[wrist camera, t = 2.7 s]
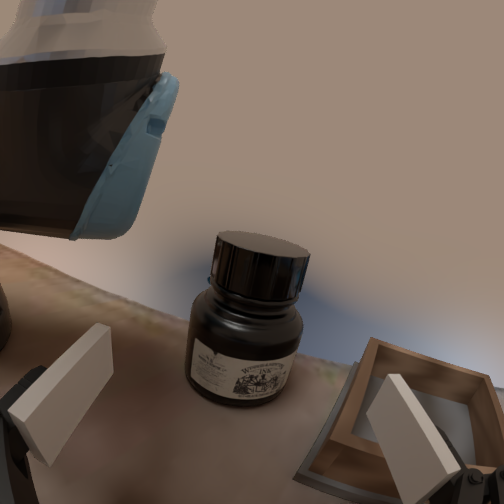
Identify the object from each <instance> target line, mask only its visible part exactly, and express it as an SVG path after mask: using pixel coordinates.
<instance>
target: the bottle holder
mask: <svg viewBox="0 0 504 504" xmlns="http://www.w3.org/2000/svg"><path fill="white" fill-rule="evenodd" d="M388 374H400V375H401V377H402V378H403V379H404V381H405V382H406V384H407V385H408V387H409V388H410V390H411V391H412V392H413V394H414V395H415V397H416V398H417V400H418V401H419V403H420V404H421V406H422V407H423V409H424V410H425V412H426V413H427V415H428V416H429V418H430V420H431V421H432V423H433V424H434V426H438V427H439V428H440V429H442V430H443V431H444V432H445V434H446V435H447V437H448V438H449V441H451V443H452V444H453V447H454V448H455V449H456V451H457V452H458V454H459V456H460V457H461V459H462V460H463V462H464V464H465V465H466V467H467V468H468V469H470V468H476V469H478V470H480V471H481V472H482V473H483V474H489V473H493V472H494V471H495V470H496V469H497V468H498V467H499V466H500V465H504V414H503V411H502V408H501V405H500V403H499V400H498V397H497V395H496V392H495V389H494V387H493V384H492V382H491V379H490V377H489V375H485V374H482V373H479V372H476V371H472V370H469V369H466V368H462V367H459V366H456V365H453V364H450V363H446V362H443V361H440V360H437V359H434V358H431V357H428V356H425V355H422V354H419V353H416V352H412V351H410V350H407V349H404V348H401V347H398V346H395V345H392V344H389V343H387V342H384V341H381V340H378V339H375V338H373V337H370V340H369V342H368V344H367V347H366V349H365V351H364V354H363V356H362V358H361V360H360V362H359V363H358V362H354V364H353V367H352V369H351V371H350V373H349V376H348V378H347V380H346V382H345V385H344V387H343V389H342V391H341V393H340V395H339V397H338V399H337V402H336V404H335V406H334V408H333V410H332V412H331V414H330V416H329V417H328V419H327V421H326V423H325V425H324V427H323V429H322V431H321V432H320V434H319V436H318V438H317V440H316V441H315V443H314V445H313V447H312V448H311V450H310V452H309V453H308V455H307V457H306V458H305V460H304V462H303V463H302V465H301V466H300V468H299V470H298V471H297V473H296V474H295V476H294V477H293V480H296V481H298V482H300V483H303V484H305V485H307V486H310V487H312V488H315V489H318V490H320V491H323V492H326V493H329V494H331V495H334V496H337V497H340V498H343V499H346V500H350V501H353V502H356V503H360V504H403V502H402V500H401V497H400V494H399V492H398V489H397V487H396V484H395V482H394V479H393V477H392V474H391V472H390V469H389V467H388V464H387V462H386V459H385V457H384V454H383V452H382V450H381V447H380V445H379V442H378V440H377V438H376V435H375V433H374V431H373V428H372V426H371V424H370V421H369V419H368V417H367V415H366V412H367V411H368V409H369V407H370V406H371V404H372V402H373V400H374V399H375V397H376V395H377V393H378V392H379V390H380V388H381V386H382V384H383V382H384V380H385V378H386V376H387V375H388ZM429 503H430V501H429V499H428V500H426V501H425V502H424V503H423V504H429ZM488 504H491V501H490V502H489V503H488Z"/></svg>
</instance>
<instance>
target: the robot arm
mask: <svg viewBox="0 0 504 504" xmlns="http://www.w3.org/2000/svg"><path fill="white" fill-rule="evenodd" d="M157 1H158V0H20V3H19V7H18V11H17V15H16V18H15V22H14V24H13V25H12V27H11V28H10V30H9V31H8V32H7V33H6V34H5V35H4V36H3V38H2V39H1V40H0V230H3V231H11V232H19V233H26V234H33V235H42V236H49V237H57V238H64V239H69V240H73V241H75V240H77V239H78V238H81V239H105V240H111V239H115V238H117V237H119V236H122V235H124V234H125V233H126V232H127V231H128V230H129V229H130V228H131V227H132V225H133V223H134V221H135V219H136V217H137V214H138V211H139V208H140V205H141V202H142V199H143V196H144V193H145V190H146V187H147V184H148V181H149V178H150V175H151V172H152V168H153V165H154V162H155V159H156V156H157V153H158V150H159V147H160V143H161V138H162V137H161V136H162V133H163V132H164V130H165V127H166V124H167V120H168V119H169V116H170V114H171V112H172V109H173V105H174V103H175V100H176V97H177V93H178V89H179V81H178V79H177V78H176V77H174V76H171V74H170V73H169V72H163V73H162V74H160V68H161V65H162V62H163V58H164V55H165V52H166V49H167V46H166V44H165V42H164V41H163V40H162V38H161V36H160V35H159V33H158V32H157V30H156V28H155V27H154V25H153V22H152V14H153V11H154V9H155V6H156V4H157ZM10 331H11V318H10V313H9V307H8V302H7V299H6V296H5V293H4V291H3V289H2V286H1V284H0V350H1V349H2V348H3V346H4V345H5V343H6V341H7V340H8V337H9V335H10ZM113 373H114V369H113V357H112V342H111V327H109V326H106V325H103V324H101V323H98V322H97V323H96V324H94V325H93V326H92V327H91V328H90V329H89V330H88V331H87V332H86V333H85V334H84V335H83V336H81V337H80V338H79V339H78V340H77V341H76V342H75V343H74V344H73V345H72V346H71V347H70V348H69V349H68V350H67V351H66V352H64V353H63V354H62V355H61V356H60V357H59V358H58V359H57V360H56V361H55V362H54V363H53V364H52V365H51V366H50V367H49V368H48V369H47V368H45V367H44V366H42V365H41V366H38V367H36V368H34V369H31V370H30V371H29V372H28V373H27V374H26V375H25V376H24V378H22V379H21V380H20V381H19V382H18V384H16V385H14V386H13V387H12V388H11V389H10V390H9V391H8V392H7V393H6V394H5V395H4V396H3V397H2V398H1V399H0V504H39V501H38V498H37V495H36V491H35V488H34V484H33V480H32V476H31V472H30V467H29V462H28V458H27V455H26V453H27V452H28V450H30V451H31V453H32V455H33V456H34V458H36V459H37V460H39V461H41V462H42V463H44V464H45V465H47V466H49V467H51V466H52V464H53V462H54V461H55V459H56V458H57V456H58V454H59V453H60V451H61V450H62V448H63V447H64V445H65V444H66V442H67V440H68V439H69V437H70V436H71V434H72V433H73V431H74V430H75V428H76V427H77V425H78V424H79V422H80V421H81V419H82V418H83V416H84V415H85V413H86V412H87V410H88V409H89V408H90V406H91V405H92V403H93V402H94V400H95V399H96V397H97V396H98V395H99V393H100V392H101V390H102V389H103V387H104V386H105V385H106V383H107V382H108V380H109V379H110V378H111V376H112V375H113ZM366 415H367V417H368V419H369V421H370V424H371V426H372V428H373V431H374V433H375V435H376V438H377V440H378V442H379V445H380V447H381V450H382V452H383V454H384V457H385V459H386V462H387V464H388V467H389V469H390V472H391V474H392V477H393V479H394V482H395V484H396V487H397V489H398V492H399V494H400V497H401V500H402V502H403V504H423V503H424V502H425V501H426V500H428V499H429V501H430V503H429V504H488V503H489V502H490V501H491V504H504V465H500V466H499V467H498V468H497V469H496V470H495V471H494V472H493V473H489V474H483V473H482V472H481V471H480V470H478V469H476V468H470V469H468V468H467V467H466V465H465V464H464V462H463V460H462V459H461V457H460V456H459V454H458V452H457V451H456V449H455V448H454V447H453V444H452V443H451V441H449V438H448V437H447V435H446V434H445V432H444V431H443V430H442V429H440V428H439V427H438V426H434V424H433V423H432V421H431V420H430V418H429V416H428V415H427V413H426V412H425V410H424V409H423V407H422V406H421V404H420V403H419V401H418V400H417V398H416V397H415V395H414V394H413V392H412V391H411V390H410V388H409V387H408V385H407V384H406V382H405V381H404V379H403V378H402V377H401V375H400V374H388V375H387V376H386V378H385V380H384V382H383V384H382V386H381V388H380V390H379V392H378V393H377V395H376V397H375V399H374V400H373V402H372V404H371V406H370V407H369V409H368V411H367V412H366Z"/></svg>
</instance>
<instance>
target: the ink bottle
mask: <svg viewBox="0 0 504 504" xmlns="http://www.w3.org/2000/svg"><path fill="white" fill-rule="evenodd" d="M309 258H310V253H309V252H308V251H307V250H306V249H304V248H302V247H300V246H299V245H296V244H293V243H290V242H288V241H285V240H282V239H278V238H274V237H271V236H266V235H261V234H256V233H249V232H241V231H224V232H219V234H218V235H217V238H216V243H215V249H214V255H213V261H212V266H211V272H210V275H211V276H210V284H211V286H210V287H209V289H207V290H205V291H203V292H201V293H200V294H199V295H198V296H197V297H196V298H195V300H194V302H193V305H192V308H191V314H190V322H189V330H188V339H187V348H186V357H185V371H186V374H187V377H188V379H189V381H190V382H191V384H192V385H193V386H194V387H195V389H196V390H198V391H199V392H200V393H201V394H202V395H204V396H205V397H207V398H209V399H211V400H213V401H216V402H219V403H222V404H227V405H233V406H254V405H259V404H263V403H266V402H269V401H271V400H273V399H274V398H276V397H277V396H278V395H279V394H280V393H281V391H282V390H283V388H284V386H285V383H286V381H287V378H288V375H289V372H290V370H291V367H292V364H293V361H294V358H295V355H296V353H297V349H298V346H299V343H300V340H301V337H302V333H303V321H302V318H301V316H300V314H299V312H298V311H297V310H296V308H295V306H294V304H295V303H296V302H297V301H298V298H299V292H301V289H302V285H303V281H304V277H305V273H306V270H307V266H308V262H309Z"/></svg>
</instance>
